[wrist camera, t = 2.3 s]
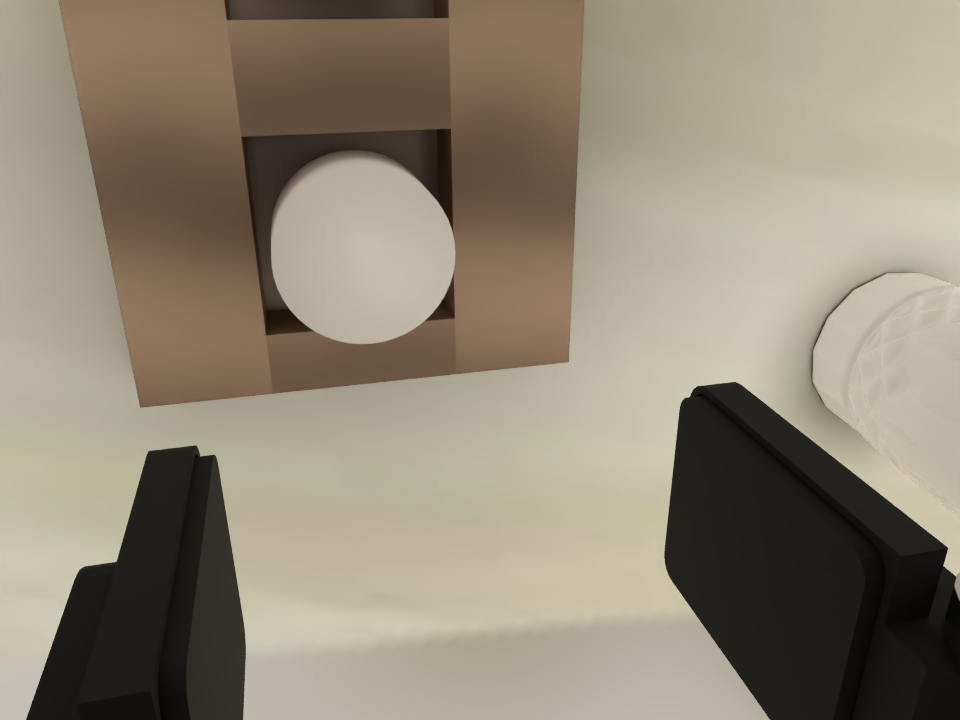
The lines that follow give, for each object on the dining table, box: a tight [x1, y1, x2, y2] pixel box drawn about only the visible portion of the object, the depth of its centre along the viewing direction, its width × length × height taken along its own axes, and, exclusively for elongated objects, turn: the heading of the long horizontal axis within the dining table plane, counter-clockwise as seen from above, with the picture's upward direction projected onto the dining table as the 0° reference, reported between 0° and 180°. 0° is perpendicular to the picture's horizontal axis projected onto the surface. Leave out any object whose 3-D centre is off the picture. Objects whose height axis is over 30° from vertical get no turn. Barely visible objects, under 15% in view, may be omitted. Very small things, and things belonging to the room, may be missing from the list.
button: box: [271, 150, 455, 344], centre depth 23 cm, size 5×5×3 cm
